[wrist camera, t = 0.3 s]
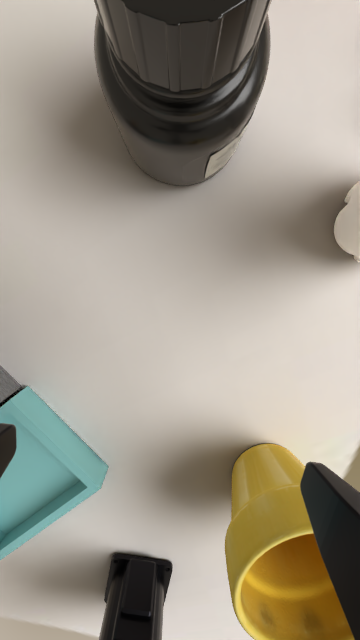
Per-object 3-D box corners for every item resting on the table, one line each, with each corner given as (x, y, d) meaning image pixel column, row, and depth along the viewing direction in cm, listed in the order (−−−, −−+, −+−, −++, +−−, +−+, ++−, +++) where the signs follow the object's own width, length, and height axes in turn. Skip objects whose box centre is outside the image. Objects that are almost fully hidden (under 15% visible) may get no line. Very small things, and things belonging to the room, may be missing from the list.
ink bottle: (237, 194, 20) (324, 82, 8) (125, 194, 20) (42, 82, 8) (244, 45, 18) (373, -406, 6) (119, 45, 18) (-4, -406, 6)
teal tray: (108, 466, 25) (100, 488, 22) (9, 538, 26) (-8, 565, 24) (27, 385, 23) (9, 399, 20) (-73, 468, 25) (-101, 490, 22)
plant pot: (249, 406, 23) (298, 502, 14) (338, 454, 24) (442, 575, 15) (193, 487, 25) (201, 622, 15) (278, 528, 26) (335, 680, 16)
